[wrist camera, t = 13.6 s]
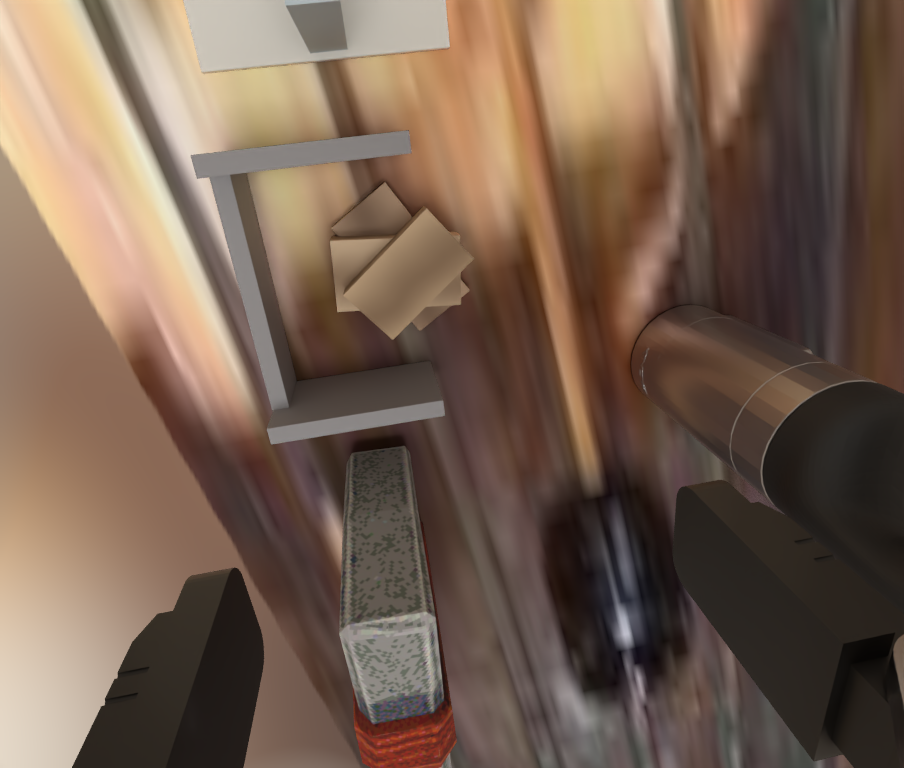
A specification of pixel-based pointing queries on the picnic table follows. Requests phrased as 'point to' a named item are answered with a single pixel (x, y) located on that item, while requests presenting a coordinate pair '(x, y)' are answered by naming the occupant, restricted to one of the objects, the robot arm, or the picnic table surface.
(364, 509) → the decorative stone tablet
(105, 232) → the picnic table surface
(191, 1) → the mat
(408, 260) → the offcut
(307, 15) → the grey flat slab
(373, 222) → the offcut
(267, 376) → the rack
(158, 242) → the picnic table surface
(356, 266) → the offcut
